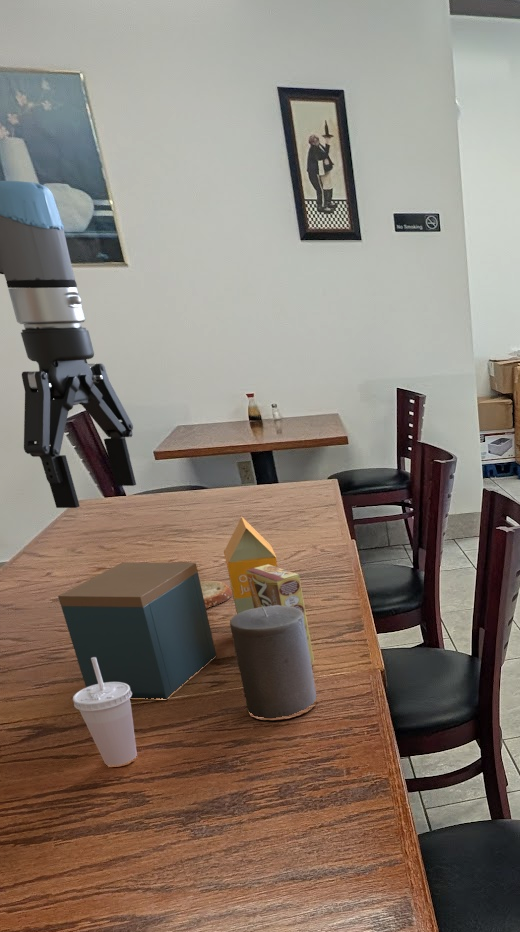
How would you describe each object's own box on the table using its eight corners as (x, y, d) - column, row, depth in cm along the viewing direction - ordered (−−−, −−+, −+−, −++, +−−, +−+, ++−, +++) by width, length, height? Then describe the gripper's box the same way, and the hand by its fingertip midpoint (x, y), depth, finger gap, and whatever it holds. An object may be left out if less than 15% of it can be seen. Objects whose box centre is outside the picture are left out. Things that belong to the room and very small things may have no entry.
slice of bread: (240, 592, 164) (237, 574, 162) (188, 624, 148) (184, 605, 146) (159, 589, 167) (155, 571, 165) (100, 620, 151) (94, 601, 149)
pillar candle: (241, 725, 113) (219, 623, 106) (254, 694, 121) (234, 598, 115) (314, 718, 114) (297, 617, 107) (321, 689, 123) (306, 593, 116)
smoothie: (154, 745, 108) (128, 647, 102) (140, 770, 102) (111, 668, 96) (102, 750, 107) (72, 651, 101) (85, 776, 101) (53, 672, 95)
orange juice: (243, 647, 138) (219, 530, 129) (239, 630, 145) (216, 518, 136) (291, 639, 141) (271, 524, 132) (284, 623, 148) (265, 512, 139)
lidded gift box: (89, 699, 121) (57, 596, 114) (146, 656, 135) (122, 562, 128) (166, 700, 120) (140, 596, 113) (216, 657, 134) (195, 562, 127)
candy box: (316, 666, 130) (301, 573, 124) (293, 675, 127) (276, 580, 121) (285, 652, 135) (269, 563, 129) (262, 660, 133) (244, 569, 126)
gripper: (15, 329, 92) (68, 517, 101) (135, 322, 114) (170, 477, 123) (-48, 330, 92) (11, 517, 102) (84, 323, 115) (122, 477, 124)
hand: (98, 496), depth 113 cm, fingers open, 13 cm apart
